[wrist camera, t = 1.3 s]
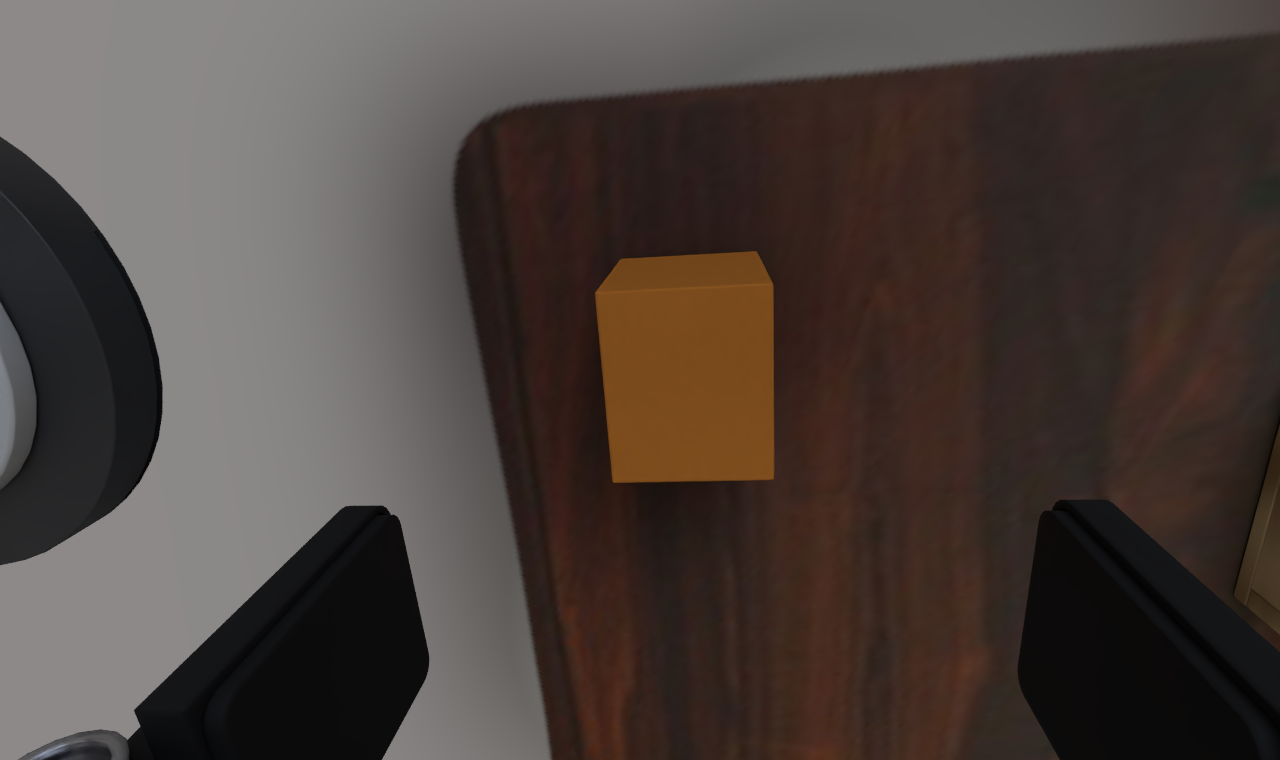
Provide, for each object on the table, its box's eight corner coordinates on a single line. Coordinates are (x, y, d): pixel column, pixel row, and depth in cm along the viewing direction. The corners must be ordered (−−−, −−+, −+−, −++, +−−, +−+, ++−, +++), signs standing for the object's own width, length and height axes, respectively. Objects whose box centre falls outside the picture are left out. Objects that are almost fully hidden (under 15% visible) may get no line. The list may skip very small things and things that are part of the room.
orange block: (619, 258, 22) (594, 292, 17) (757, 251, 22) (773, 283, 17) (632, 411, 24) (612, 483, 19) (759, 408, 24) (774, 480, 18)
